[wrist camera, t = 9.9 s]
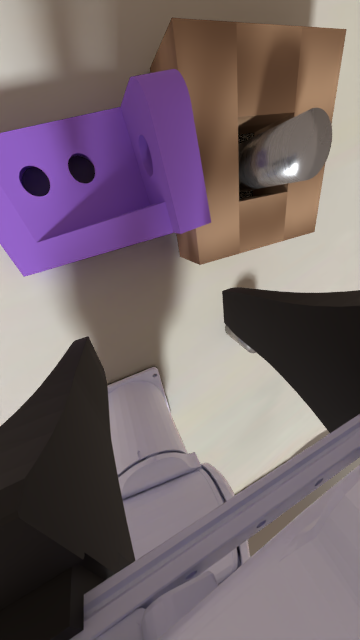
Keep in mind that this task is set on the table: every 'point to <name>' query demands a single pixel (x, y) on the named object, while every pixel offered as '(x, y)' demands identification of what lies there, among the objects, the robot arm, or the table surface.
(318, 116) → the tall pin
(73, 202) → the bracket
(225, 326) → the short pin
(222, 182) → the hole block
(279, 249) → the table surface
